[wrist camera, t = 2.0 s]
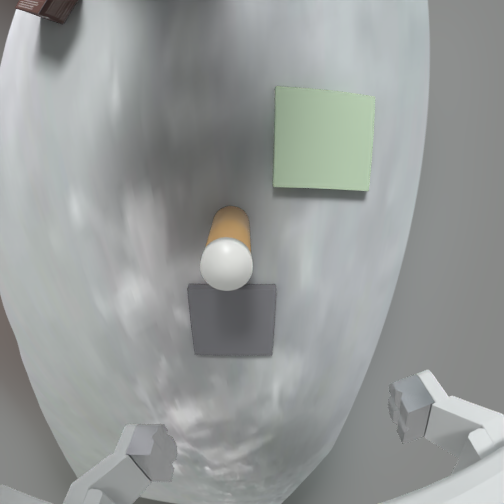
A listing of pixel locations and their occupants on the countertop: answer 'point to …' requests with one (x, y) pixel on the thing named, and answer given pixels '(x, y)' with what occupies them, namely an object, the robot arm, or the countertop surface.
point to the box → (48, 8)
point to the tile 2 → (322, 139)
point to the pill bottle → (228, 250)
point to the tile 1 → (232, 319)
